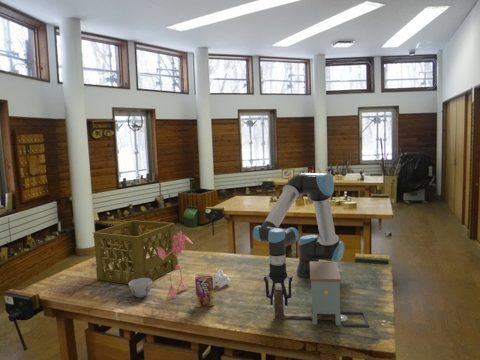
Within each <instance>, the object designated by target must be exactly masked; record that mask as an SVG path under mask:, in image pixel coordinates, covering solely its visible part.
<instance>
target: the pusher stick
mask: <svg viewBox="0 0 480 360" xmlns="http://www.w3.org/2000/svg"><path fill="white" fill-rule="evenodd" d="M273 297H274V308H275V313H274V319H275V320H285V319H299V320H301V319H302V320H313V319H312V314H305V313H303V314H302V313H284V312H283V297H284V294H283V289H282V286H281V285H280V286H278V285H277V286H276V285H275V289H274V294H273ZM317 320H322V321H323V320H324V321H325V320H326V321H327V320H328V321H332V322H335V314H317Z"/></svg>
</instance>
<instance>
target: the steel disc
mask: <svg viewBox="0 0 480 360" xmlns="http://www.w3.org/2000/svg"><path fill="white" fill-rule="evenodd" d="M347 321H348V317H347V315H345V314H340V323H346V322H347Z"/></svg>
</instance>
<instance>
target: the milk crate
mask: <svg viewBox="0 0 480 360" xmlns="http://www.w3.org/2000/svg"><path fill="white" fill-rule="evenodd" d="M141 226H143V228H141ZM148 227H158V228H156V229H153V230H151V229H148ZM175 227H176V226H175V222H163V221H150V220H137V219H136V220H135V219H133V220H130V221H126V222H121V223H120V224H115V225H113V226H109V227H106V228H104V229H100V230H97V231H94V232H92V234H93V236H92V237H93V242H94V252H95V253H94V254H95V256H94V258H95V263H96V266H95V267H96V268H95V271H96V279H97V280H101V281H106V282H113V283H119V284H124V285H129V282H130V281H132V280H135V279H139V278H149V279H151V280H152V281H154V280H156V279H159V278H160V277H162V276H163V275H165V274H167V273H169V272H171V271H172V270H173V271H174V270H176V269H175V266H176V265H178V264H177V258H178V257H177V258H176V256H177V255H176V256H175V254H176V251H174V253H175V254H174V253H173V252H172V253H170V252H171V251H172V248H173V243H174V240H173V236H175V234H176V233H175ZM125 228H127V229H126V231H125ZM117 230H120V233H117V234H114V233H112V232H114V231H117ZM145 231H146V233H144V232H145ZM153 236H154V237H155V238H153ZM115 241H117V243H115ZM127 242H128V244H127ZM150 242H151V243H150ZM156 242H157V243H156ZM120 243H121V244H120ZM108 245H109V247H108ZM149 245H150V246H149ZM157 246H158V247H157ZM159 247H161V248H162V249H163V250H164V251H165V255H168V254H169V253H170V254H169V255H168V256H167V257H165V259H164V260H162V259H161V258H160V257H159V255H158V249H159ZM167 247H168V248H167ZM154 252H155V253H154ZM147 255H149V257H148V258H147ZM109 265H110V266H109Z"/></svg>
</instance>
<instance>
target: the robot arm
mask: <svg viewBox="0 0 480 360" xmlns="http://www.w3.org/2000/svg"><path fill="white" fill-rule="evenodd" d="M334 182H335V181H334V179H333V177H332V176H331V175H330V174H329V173H323V172H314V173H313V172H301V173H298V174H296V175H294V176H293V177H291V178H290V179H288V181H286V183H285V184H284V186H283V188H282V193H281V194H280V195H279V198H278V199H277V200H276V202H275V204H274V206H273V207H272V208H271V210H270V212H269V214H268V215H267V217H266V219H265V220H264V221H263V223H262V224H261V225H256V226H254V228H253V229H252V235H253V236H252V237H253V238H254V240H256V241H257V242H258V241H259V242H261V243H262V242H265V243H268V258H269V259H268V262H269V273H268V274H265V275H264V276H263V280H264V281H263V282H264V284H265V297H266V298H269V300H270V301H269V302H270V306H272V312H273V314H275V308H274V289H275V286H276V284H280V286H282V289H283V312H284V314H286V306H287V307H288V306H289V305H288V302H289V301H288V299H291V298H292V281H293V277H294V276H293V275H288V273H287V261H286V260H287V259H286V257H287V255H286V248H287V247H289V246H291V245H294V244H295V243H296V242H298V260H299V261H298V264H297V268H296V276H298V277H300V278H304V279H310V261H313V262H320V260H322V261H327V262H337V263H338V262H340V261H341V260H342V258H343V257H344V252H345V243H344V242H343V241H341V240H340V238H339V236H338V235H337V234H336V231H335V230H336V229H335V223H334V221H333V214H332V208H331V202H330V198H331V197H332V195H333V193H334V191H335V183H334ZM300 195H308V196H309V199H310V201H312V202H313V206H314V212H315V216H316V217H315V218H316V223H317V226H318V227H317V228H318V232H319V235H317V234H306V235H303V236H301V237H300V233H299V231H298V230H297V229H296V228H295V227H292V226H291V227H287V228H282V227H280V225H281V224H282V223H283V220H284V219H285V217H286V215H287V214H288V212H289V210H290V208H291V206H292V204H294V201H295V200H297V199H298V198H299V197H300ZM286 279H287V281H288V292H287V289H286V284H285V280H286ZM269 280H271V281H272V285H271V291H270V285H269V284H270V283H269Z"/></svg>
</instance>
